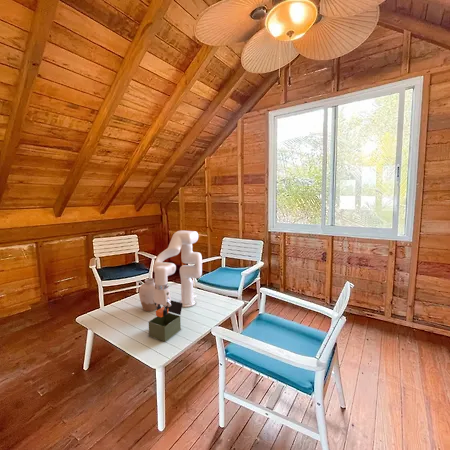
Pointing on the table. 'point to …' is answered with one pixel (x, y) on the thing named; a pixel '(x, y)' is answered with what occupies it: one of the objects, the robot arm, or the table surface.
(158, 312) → the block
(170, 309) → the flap
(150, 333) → the olive green hollow box
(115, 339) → the table surface
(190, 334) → the table surface
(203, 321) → the table surface
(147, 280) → the vase
